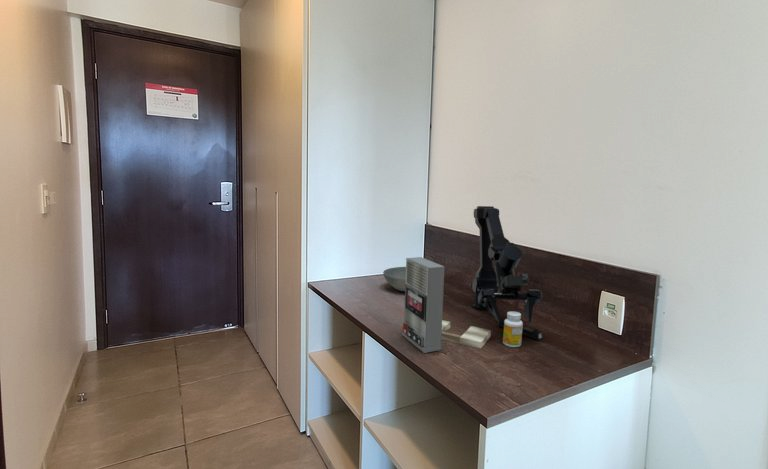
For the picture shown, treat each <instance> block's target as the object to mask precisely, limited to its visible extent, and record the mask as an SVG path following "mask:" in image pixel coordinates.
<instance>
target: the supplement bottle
mask: <svg viewBox="0 0 768 469" xmlns="http://www.w3.org/2000/svg"><path fill="white" fill-rule="evenodd" d="M521 319H522V314H521V313H520V312H519V311H514V310H512V311H511V310H510V311H507V313H506V318H505V319H504V320H505V321H504V327H503V334H502V335H503V336H502V344H503V345H505V346H506V347H510V348H519V347H521V345H522V340H523V338H522V337H523V334H522V328H523V326H524V325H523V324H524V323H523V321H522V320H521Z"/></svg>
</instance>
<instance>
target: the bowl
mask: <svg viewBox="0 0 768 469" xmlns="http://www.w3.org/2000/svg"><path fill="white" fill-rule="evenodd" d="M382 274H383V277H384V279H385V281H386V282H387V283H388V284H389V285H390V286H391V287H393V289H395V290H397V291H399V292H404V293H405V283H406V266H396V267H391V268H387V269H385V270H383V271H382Z"/></svg>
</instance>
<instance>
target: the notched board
mask: <svg viewBox="0 0 768 469" xmlns="http://www.w3.org/2000/svg"><path fill="white" fill-rule="evenodd" d="M449 329H451V321H448V320H443V319H442V335H441V341H447V342H451V343H454V344H459V345H463V346H468V347H471V348H476V349H482V348H483V347H484V345H485V344H486V343H487V341H488V340H490V338H491V337H492V336H491V335H492V330H490V329H487V328H483V327H478V326H472V325H470V326H469V328H468V329H467V330H465V332H463V334H462V335H460V334H455V333H451V332H447V331H448V330H449Z"/></svg>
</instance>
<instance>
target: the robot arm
mask: <svg viewBox="0 0 768 469" xmlns="http://www.w3.org/2000/svg"><path fill="white" fill-rule="evenodd" d="M473 218H474V222H475V224H476V226H477V227H478V229H479V268H478V270H477V271H476V272H475V277H474V280H473V282H472V286H471V287H472V291H473V292H474V294H475V296H474V304H471V306H472V307H473V308H476V309H479V310H482V311H489V312H490V313H491V314H492V315H493V318H494V319H495V320H496V321H497V323H499V322H500V319H501V316H500V313H499V308H498V303H497V300H498V301H499V300H500V301H501V300H505V301H506V300H507V301H509V300H510V301H511V300H512V301H523V303H524V305H523V307H524V308H523V309H524V311H525V312H524V313H525V317H526V320H527V323H528V324H531V322H532V316H533V310H534V308H535V306H538V304H539V303H540V302H541V300H542V299H543V293H542V291H541V290H539V289H527V290H526V292H525V293H519V292H521V290H522V288H521V287H524V286H526V285H528V284H529V283H530V279H529V278H530V277H529V275H528V273H521V274H519V275H515V272H514V271H515V268H517V266H518V264H519V262H520V260H521V258H522V257H523V251H522V249H520V248H519V247H518V246H517V245H515V243H514V242H511V241H510V240H509V239H508V238H506V237H505V234H504V231H503V226H502V222H501V218H500V209H499V208H497V207H494V206H493V205H492V206H490V205H489V206H487V205H486V206H485V205H478V206H476V208H474V209H473ZM493 262H496V263H495V264H494V267H493Z"/></svg>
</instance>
